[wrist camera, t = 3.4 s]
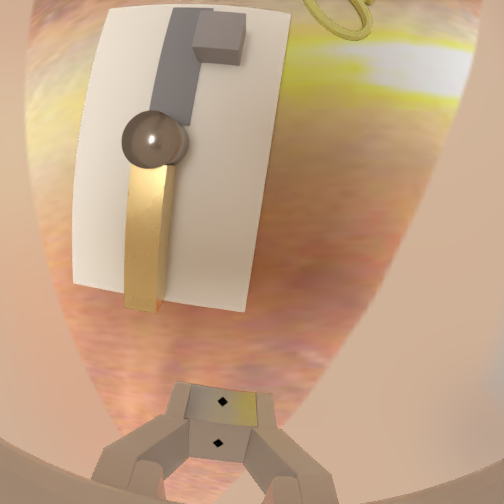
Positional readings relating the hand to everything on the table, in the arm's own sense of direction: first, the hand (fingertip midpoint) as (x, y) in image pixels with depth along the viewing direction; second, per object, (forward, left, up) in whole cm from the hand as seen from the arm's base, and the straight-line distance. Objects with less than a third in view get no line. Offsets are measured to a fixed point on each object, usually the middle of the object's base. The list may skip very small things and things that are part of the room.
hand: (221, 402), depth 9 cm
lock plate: (-8, -6, -16) cm, 19 cm away
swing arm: (-3, -6, -14) cm, 16 cm away
